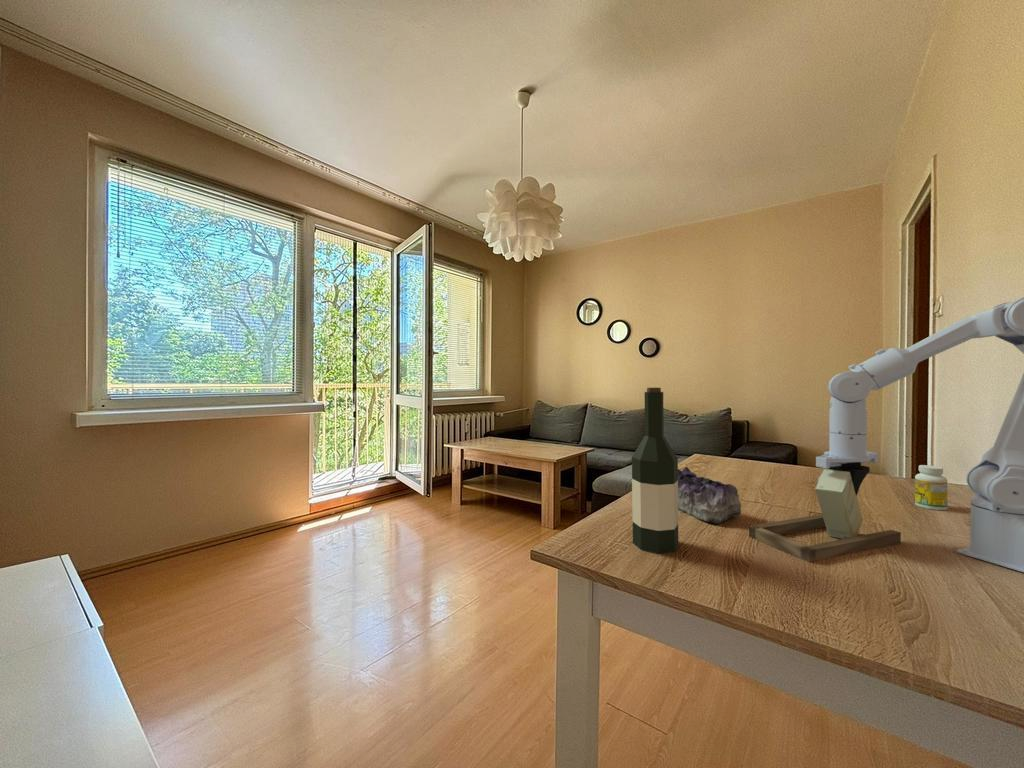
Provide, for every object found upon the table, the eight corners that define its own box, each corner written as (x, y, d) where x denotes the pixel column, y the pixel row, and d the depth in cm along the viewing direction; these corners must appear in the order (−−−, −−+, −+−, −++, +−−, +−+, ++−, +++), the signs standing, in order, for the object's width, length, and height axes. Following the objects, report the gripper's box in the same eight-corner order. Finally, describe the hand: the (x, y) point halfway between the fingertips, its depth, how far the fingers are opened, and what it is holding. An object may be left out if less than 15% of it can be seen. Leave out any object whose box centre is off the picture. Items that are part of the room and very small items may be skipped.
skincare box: (855, 542, 77) (842, 493, 73) (827, 536, 81) (813, 489, 77) (863, 519, 80) (851, 471, 77) (835, 514, 84) (822, 468, 80)
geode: (647, 501, 105) (650, 462, 105) (684, 502, 108) (687, 465, 109) (708, 525, 85) (711, 477, 86) (750, 526, 89) (753, 480, 89)
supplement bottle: (953, 511, 93) (953, 470, 93) (923, 509, 95) (923, 468, 94) (938, 504, 98) (938, 465, 98) (909, 502, 100) (909, 463, 99)
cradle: (900, 543, 76) (900, 532, 76) (809, 562, 69) (809, 550, 69) (833, 521, 88) (833, 512, 88) (749, 536, 81) (748, 526, 81)
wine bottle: (683, 555, 73) (681, 388, 72) (634, 552, 75) (633, 388, 74) (674, 537, 81) (672, 386, 80) (630, 534, 83) (629, 387, 82)
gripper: (851, 428, 86) (851, 491, 87) (800, 432, 82) (800, 499, 82) (891, 432, 79) (890, 501, 80) (837, 437, 75) (837, 510, 75)
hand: (847, 501), depth 81 cm, fingers closed, pressing on skincare box
